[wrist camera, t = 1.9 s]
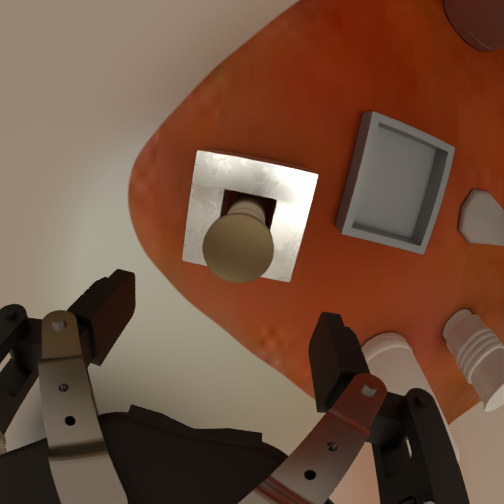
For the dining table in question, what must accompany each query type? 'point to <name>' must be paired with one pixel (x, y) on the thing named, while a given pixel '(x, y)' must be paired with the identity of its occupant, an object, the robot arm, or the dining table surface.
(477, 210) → the flask
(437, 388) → the dining table surface
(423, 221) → the tray
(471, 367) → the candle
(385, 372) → the bottle
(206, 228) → the hitch block
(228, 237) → the pin
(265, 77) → the dining table surface
